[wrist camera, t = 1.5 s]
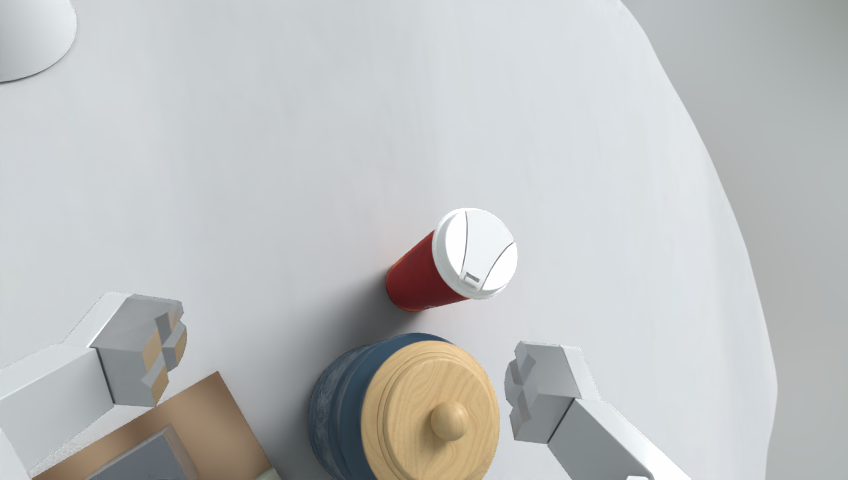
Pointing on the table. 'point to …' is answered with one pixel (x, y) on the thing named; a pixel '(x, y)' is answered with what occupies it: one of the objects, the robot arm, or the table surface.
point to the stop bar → (151, 460)
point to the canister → (405, 413)
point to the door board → (184, 437)
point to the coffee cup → (455, 262)
